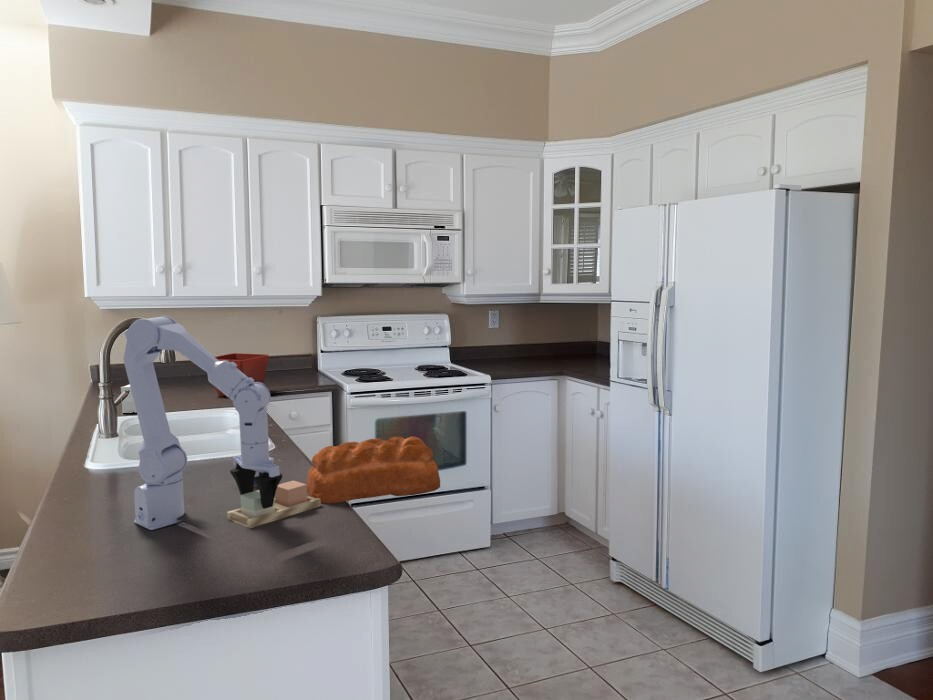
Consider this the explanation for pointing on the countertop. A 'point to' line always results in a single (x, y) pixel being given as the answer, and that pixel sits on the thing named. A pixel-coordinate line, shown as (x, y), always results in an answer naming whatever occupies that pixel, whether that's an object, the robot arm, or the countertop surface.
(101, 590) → the countertop surface
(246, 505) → the two tone brick
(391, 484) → the bread
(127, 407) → the small box
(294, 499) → the terracotta brick
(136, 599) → the countertop surface
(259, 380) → the plant pot
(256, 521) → the socket board
